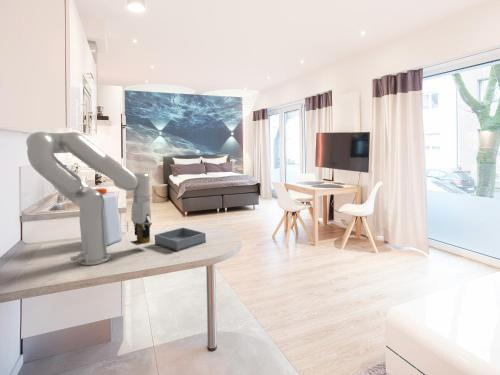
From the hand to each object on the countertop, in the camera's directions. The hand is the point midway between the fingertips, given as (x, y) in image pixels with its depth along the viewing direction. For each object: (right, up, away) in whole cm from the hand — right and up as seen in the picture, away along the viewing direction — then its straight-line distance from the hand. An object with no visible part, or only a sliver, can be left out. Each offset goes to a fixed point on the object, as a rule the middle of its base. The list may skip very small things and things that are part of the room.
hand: (141, 235), depth 152 cm
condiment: (0, -3, 0) cm, 3 cm away
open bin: (+17, -5, +9) cm, 20 cm away
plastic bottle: (-24, -5, +13) cm, 28 cm away
